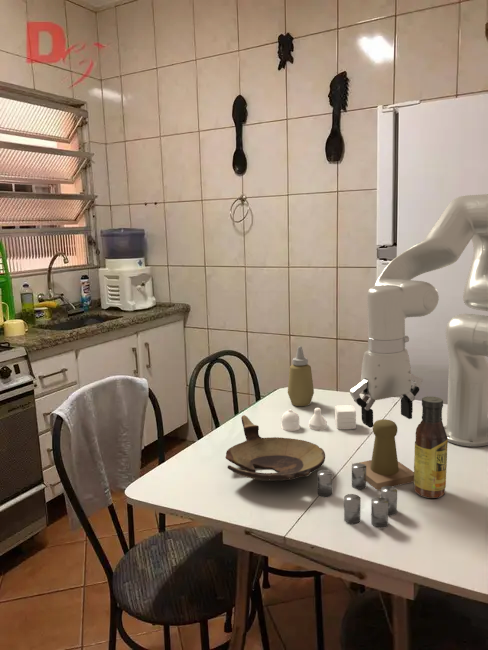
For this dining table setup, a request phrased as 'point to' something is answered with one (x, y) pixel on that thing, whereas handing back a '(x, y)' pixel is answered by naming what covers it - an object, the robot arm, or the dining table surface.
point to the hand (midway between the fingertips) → (387, 421)
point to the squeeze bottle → (300, 380)
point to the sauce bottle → (430, 451)
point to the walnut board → (388, 476)
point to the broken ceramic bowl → (273, 456)
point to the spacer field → (353, 502)
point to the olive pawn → (384, 448)
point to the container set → (321, 419)
